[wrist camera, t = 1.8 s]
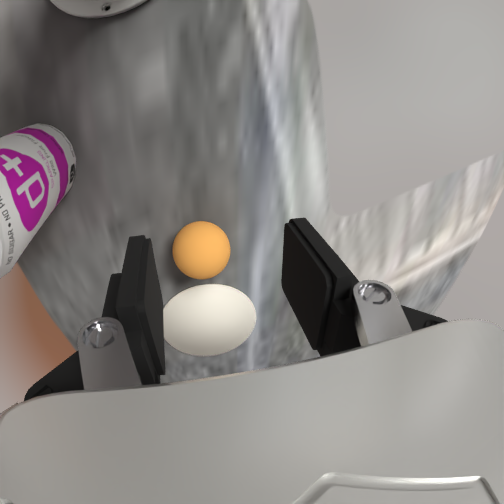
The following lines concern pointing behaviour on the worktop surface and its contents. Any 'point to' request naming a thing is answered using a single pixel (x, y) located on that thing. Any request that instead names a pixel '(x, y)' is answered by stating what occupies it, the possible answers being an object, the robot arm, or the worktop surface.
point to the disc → (208, 319)
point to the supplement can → (31, 185)
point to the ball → (201, 250)
